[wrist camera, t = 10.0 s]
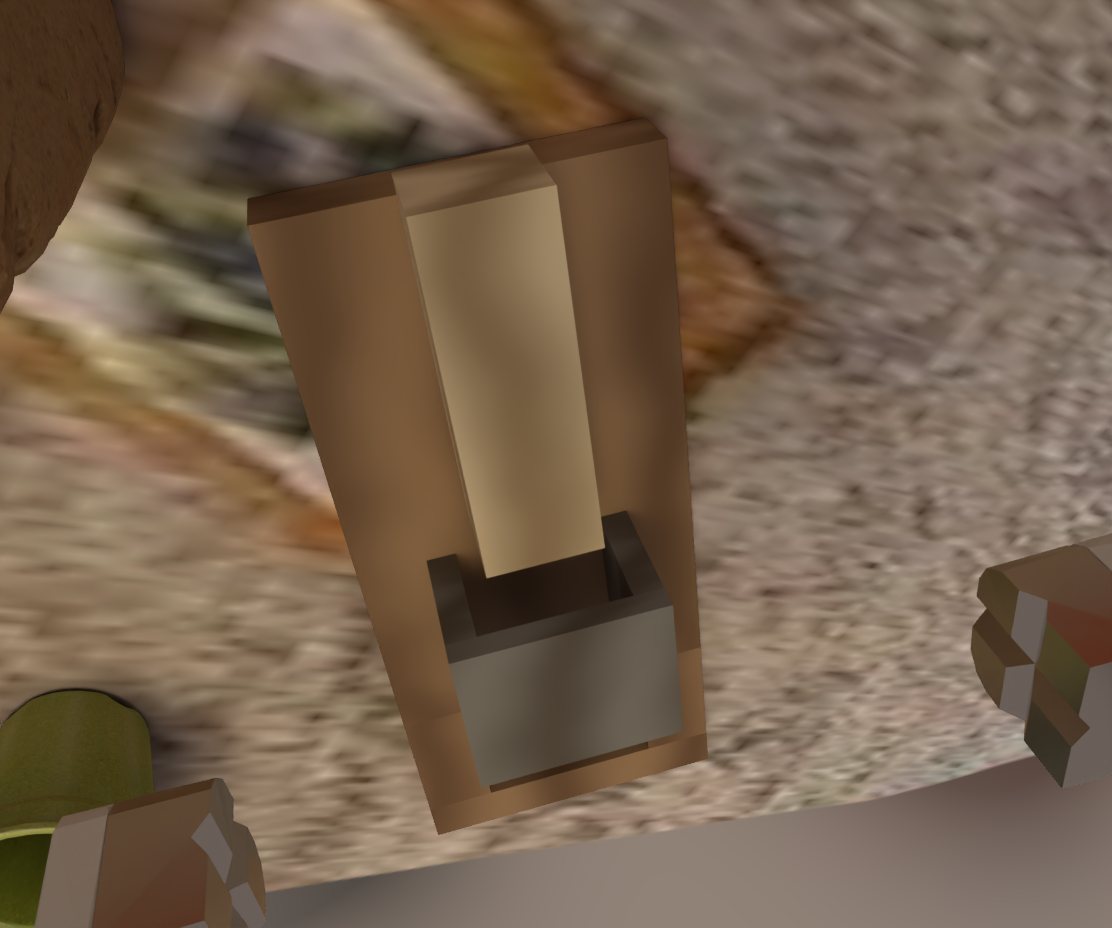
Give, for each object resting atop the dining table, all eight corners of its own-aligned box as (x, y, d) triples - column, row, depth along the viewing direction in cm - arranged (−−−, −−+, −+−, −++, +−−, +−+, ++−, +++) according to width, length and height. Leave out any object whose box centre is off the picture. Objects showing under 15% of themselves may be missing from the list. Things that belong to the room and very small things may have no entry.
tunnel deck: (644, 117, 37) (733, 199, 30) (691, 722, 56) (753, 858, 49) (247, 199, 36) (246, 305, 29) (431, 794, 54) (457, 946, 47)
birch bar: (527, 144, 34) (556, 185, 31) (578, 487, 42) (604, 547, 39) (390, 172, 34) (406, 217, 30) (468, 514, 42) (486, 578, 39)
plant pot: (201, 793, 50) (193, 961, 43) (-16, 824, 48) (-61, 1006, 41) (175, 646, 45) (161, 811, 38) (-69, 674, 43) (-131, 852, 36)
